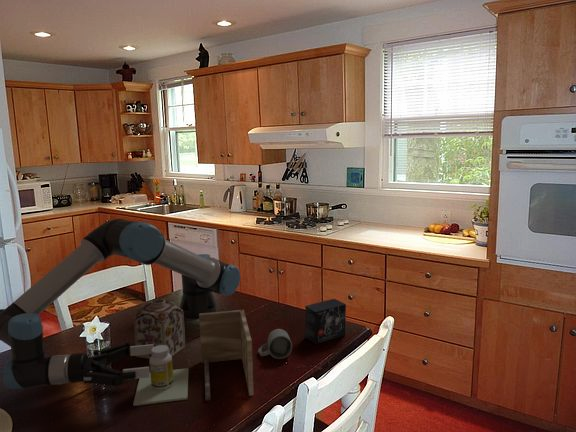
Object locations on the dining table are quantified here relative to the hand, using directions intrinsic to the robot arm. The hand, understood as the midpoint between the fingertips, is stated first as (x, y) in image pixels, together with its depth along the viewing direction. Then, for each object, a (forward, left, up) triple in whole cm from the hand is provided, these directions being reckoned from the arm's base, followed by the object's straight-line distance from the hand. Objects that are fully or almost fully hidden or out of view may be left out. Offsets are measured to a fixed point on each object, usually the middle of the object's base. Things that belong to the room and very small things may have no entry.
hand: (151, 359), depth 127 cm
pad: (0, +3, -9) cm, 9 cm away
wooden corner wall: (-2, +20, -9) cm, 22 cm away
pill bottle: (0, +2, -8) cm, 9 cm away
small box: (-21, +56, -9) cm, 61 cm away
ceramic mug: (-13, +37, -9) cm, 40 cm away
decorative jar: (-22, +1, -9) cm, 24 cm away
